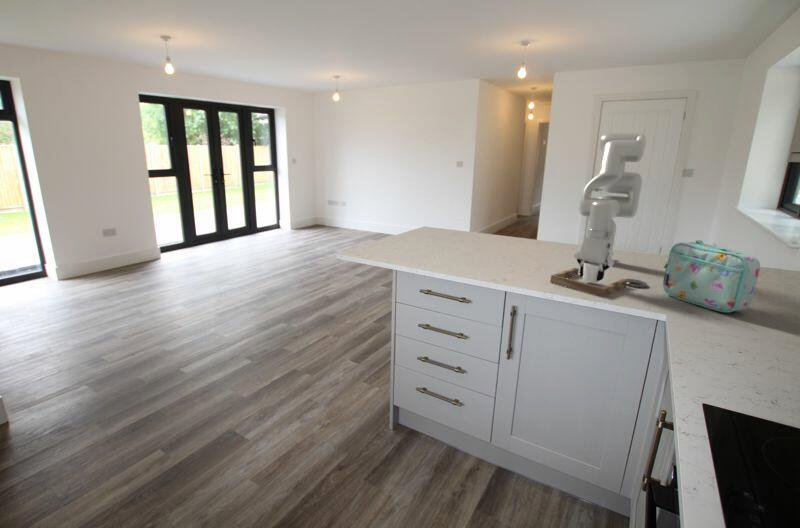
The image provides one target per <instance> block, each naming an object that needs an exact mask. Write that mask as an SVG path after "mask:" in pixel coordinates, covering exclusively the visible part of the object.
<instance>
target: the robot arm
mask: <svg viewBox="0 0 800 528" xmlns="http://www.w3.org/2000/svg"><path fill="white" fill-rule="evenodd" d="M646 145H647V137H646V135H645V134H643V133H631V132H630V133H622V132H618V133H615V132H614V133H606V134H603V135H601V137H600V139H599V148H600V151H601V157H600V162H599V164H600V165H599V169H598V172H597V173H598V174H597V175H595V176H594V177H593V178H591V179H590V180H589V181H588V182H587V183H586V185H584V186H585V187H584V188H583V190H582V193H581V196H580V202H579V209H578V210H579V214H580V215H581V216H583V217H587V218H588V223H587V231H586V234H585V236H584V237H583V240H582V243H581V247H580V251H578V252H577V253H575V254H574V255H573V257H574V258H575V260H576V262H577V263H578V264H579V267H580V268H579V277H582V278H583V268H584V262H587V261H588V262H592V263H597V264H599V268H600V271H598V276H597V281H598V282H600V281H602V280H603V279H604V276H605V271H607V270H608V269H610V268H611V267H613V266H614V265H615V260H614V259H613V258H612V256H614V252H613V249H614V245H615V243H614V242H615V237H616V231H617V224H616V222H615V220H614V218H623V219H624V218H629V219H631V218H634V217H635V216H636V215H637V211H638V208H639V201H640V195H641V190H642V181H643V180H642V179H643V177H642V176H641V174H640V173H638V172H630V171H629V172H628V171H627V172H626V171H625V169H626V163H628V162H629V163H637V162H641V160H642V158H643V157H644V153H645V150H646ZM599 188H601V191H602V192H604V193H608V194H607V195H604V194H603V195H600V196H598V197H590V196H591V194H592V193H593V192H594V191H595V190H596V189H599ZM609 193H610V194H622V195H627V196H621V195H610V194H609Z"/></svg>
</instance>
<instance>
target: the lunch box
mask: <svg viewBox="0 0 800 528" xmlns="http://www.w3.org/2000/svg"><path fill="white" fill-rule="evenodd" d="M668 255H669V256H668V260H667V262H666V263H665V265H664V267H663V268H664V269H665V270H664V274H663V275H664V276H663V281H662V283H663V285H662V286H663V289H664V292H665V293H666V294H667V295H669V296H671V297H672V298H675V299H678V300H680V301H684V302H686V303H689V304H693V305H695V306H699V307H702V308H706V309H708V310H712V311H716V312H721V313H732V312H744V311H747V310H748V309H749V308H750V306H751V303H752V301H753V298H754V293H755V289H756V286H757V281H758V279H759V274H760V270H761V264H760V261H759V258H757V257H756V256H754V255H751V254H748V253H746V252H742V251H738V250H735V249H734V250H733V249H729V248H726V247H721V246H716V245H713V244H707V243H704V242H703V240H700V239H699V240H695V241H694V242H693V241H690V242H683V241H682V242H678V243H676V244H674V245H673V246H672V247H671V249H670V252H669V254H668Z"/></svg>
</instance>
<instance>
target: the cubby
mask: <svg viewBox="0 0 800 528" xmlns="http://www.w3.org/2000/svg"><path fill="white" fill-rule="evenodd" d="M579 272H580V268H579V267H573V268H570V269H567V270H564V271H561V272H558V273H555V274H552V275H550V282H552V283H551V284H553V283H555V284H554V285H557V284H559V285H558V286H560V285H562V287H564V286H566V287H565V288H568V287H569V288H568V289H571V288H572V289H571V290H575V289H576V291H578V290H579V292H582V291H583V293H586V292H587V294H589V293H590V295H593V294H594V295H593V296H596V295H597V297H600V296H601V297H600V298H604V297H605V298H606V297H608V296H610V295H611V294H613V293H616V292H618V291H620V289H621V290H623V289H625V288H627V286H626V284H627V280H626V279H627V278H622V279H620V280H617V281H615V282H613V283H610V284H608V285H605V286H603V287H601V286H599V285H594V284H591V283H590V284H589V283H586V282H582V281H578V280H574V279H571V278H573V277H572V276H574V277H576V276H575V275H577V276H579ZM570 277H571V278H570ZM567 278H568V279H567ZM622 288H623V289H622ZM609 294H610V295H609Z"/></svg>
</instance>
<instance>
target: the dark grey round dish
mask: <svg viewBox="0 0 800 528" xmlns="http://www.w3.org/2000/svg"><path fill="white" fill-rule="evenodd" d="M625 279H626V280H627V284H626V287H627V288H628V287H629V288H634V289H635V288H636V289H646V288H647V287H648V283H647V282H645V281H644V280H640V279H635V278H625Z"/></svg>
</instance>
